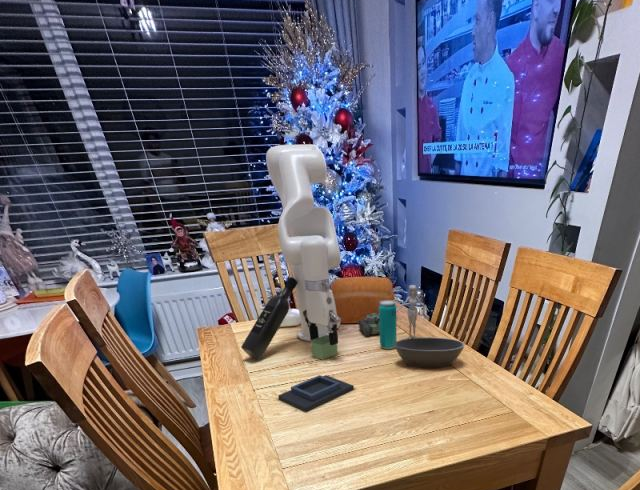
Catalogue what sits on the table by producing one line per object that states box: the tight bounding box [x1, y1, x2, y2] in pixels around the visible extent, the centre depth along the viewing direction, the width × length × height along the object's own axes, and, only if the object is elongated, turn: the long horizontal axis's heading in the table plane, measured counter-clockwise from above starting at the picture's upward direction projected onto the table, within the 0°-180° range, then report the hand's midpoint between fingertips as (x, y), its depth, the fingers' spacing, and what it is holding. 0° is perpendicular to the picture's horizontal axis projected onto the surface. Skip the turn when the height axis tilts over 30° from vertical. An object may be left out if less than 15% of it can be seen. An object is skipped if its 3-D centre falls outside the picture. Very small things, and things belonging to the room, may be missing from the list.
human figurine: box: [396, 284, 430, 339], centre depth 151 cm, size 12×4×18 cm, turn 93°
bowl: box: [394, 337, 465, 369], centre depth 136 cm, size 12×22×6 cm, turn 83°
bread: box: [330, 276, 395, 324], centre depth 172 cm, size 14×26×16 cm, turn 88°
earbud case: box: [279, 308, 301, 328], centre depth 172 cm, size 10×13×5 cm
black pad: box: [277, 374, 355, 413], centre depth 122 cm, size 18×12×3 cm, turn 138°
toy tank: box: [358, 313, 380, 338], centre depth 162 cm, size 10×12×7 cm
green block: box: [310, 335, 339, 361], centre depth 145 cm, size 7×5×6 cm
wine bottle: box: [240, 276, 298, 360], centre depth 145 cm, size 6×6×30 cm
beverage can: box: [379, 300, 398, 350], centre depth 146 cm, size 6×6×15 cm
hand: (324, 341), depth 143 cm, fingers open, 9 cm apart
